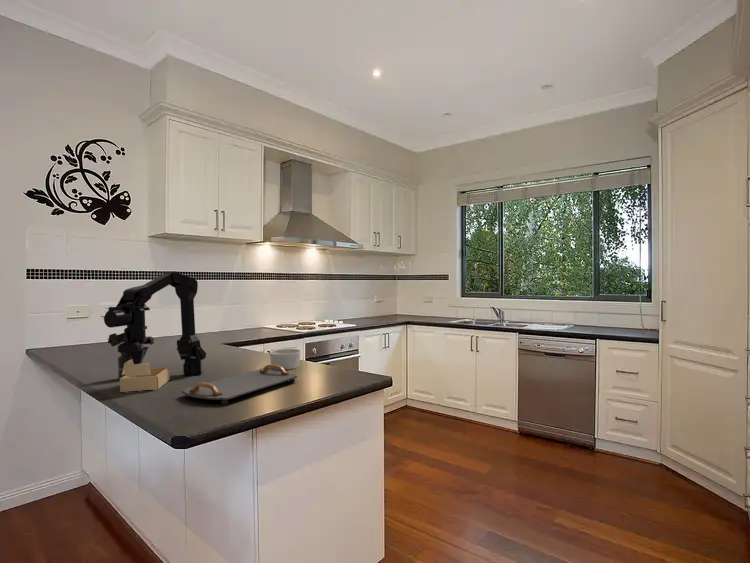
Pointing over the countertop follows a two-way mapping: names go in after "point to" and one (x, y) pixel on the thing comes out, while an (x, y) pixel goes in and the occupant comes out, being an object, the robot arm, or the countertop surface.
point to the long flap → (127, 364)
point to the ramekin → (285, 358)
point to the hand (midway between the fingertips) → (137, 368)
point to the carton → (145, 380)
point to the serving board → (239, 384)
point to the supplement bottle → (122, 362)
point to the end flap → (137, 369)
